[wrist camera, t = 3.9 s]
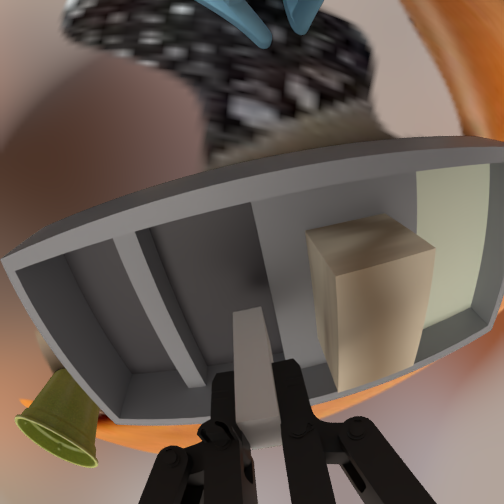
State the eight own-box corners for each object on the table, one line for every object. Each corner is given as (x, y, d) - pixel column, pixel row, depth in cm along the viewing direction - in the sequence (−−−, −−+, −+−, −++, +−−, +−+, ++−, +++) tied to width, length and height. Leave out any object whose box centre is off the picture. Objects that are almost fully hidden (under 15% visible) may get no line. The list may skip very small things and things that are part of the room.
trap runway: (474, 135, 15) (523, 147, 10) (460, 298, 22) (491, 329, 17) (44, 226, 16) (0, 259, 11) (129, 379, 23) (116, 424, 18)
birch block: (384, 213, 15) (435, 247, 10) (381, 318, 18) (413, 365, 13) (304, 230, 15) (335, 276, 10) (317, 337, 18) (338, 392, 14)
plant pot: (34, 345, 21) (0, 403, 13) (109, 371, 22) (84, 444, 14) (55, 394, 24) (34, 446, 16) (119, 416, 26) (106, 475, 18)
